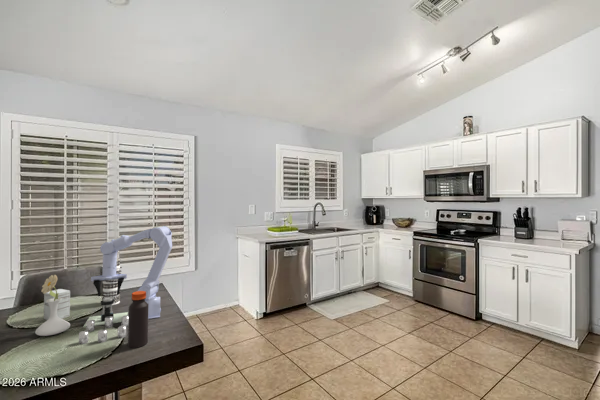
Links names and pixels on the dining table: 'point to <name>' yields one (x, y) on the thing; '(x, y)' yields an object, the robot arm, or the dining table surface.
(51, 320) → the flower in vase
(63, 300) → the supplement box
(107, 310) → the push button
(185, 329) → the dining table surface
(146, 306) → the bottle
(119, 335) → the spacer posts
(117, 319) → the sage mat
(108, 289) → the decorative candle
